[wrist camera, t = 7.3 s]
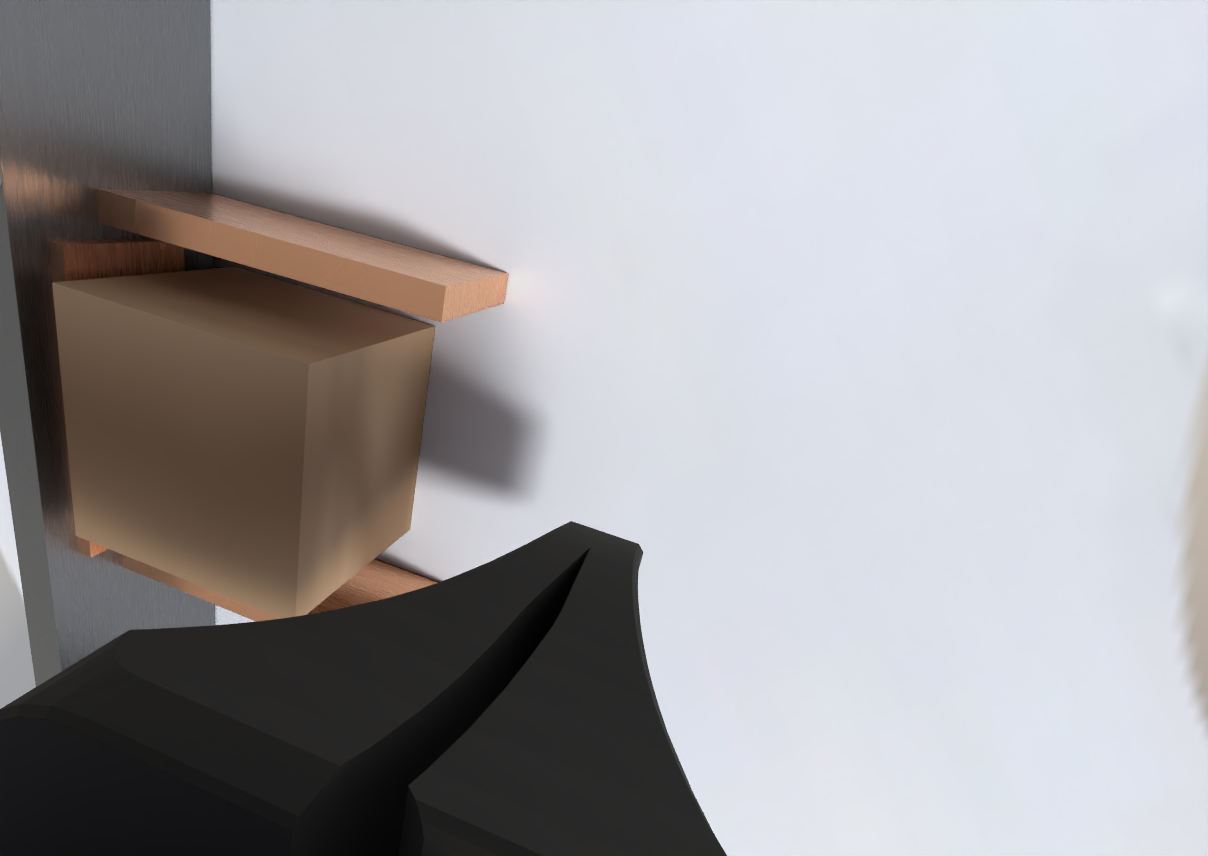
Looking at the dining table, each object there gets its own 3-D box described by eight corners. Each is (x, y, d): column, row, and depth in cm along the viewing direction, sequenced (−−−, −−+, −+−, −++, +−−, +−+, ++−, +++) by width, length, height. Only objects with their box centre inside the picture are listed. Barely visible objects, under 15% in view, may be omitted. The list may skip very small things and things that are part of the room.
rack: (420, 825, 18) (327, 977, 15) (194, 723, 20) (57, 840, 16) (587, -220, 10) (467, -479, 6) (170, -269, 11) (-130, -505, 8)
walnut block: (412, 526, 15) (294, 623, 12) (237, 463, 16) (76, 535, 13) (438, 324, 14) (308, 364, 10) (239, 266, 14) (52, 282, 11)
